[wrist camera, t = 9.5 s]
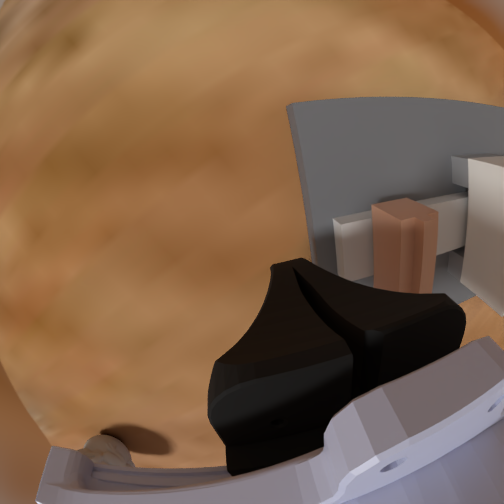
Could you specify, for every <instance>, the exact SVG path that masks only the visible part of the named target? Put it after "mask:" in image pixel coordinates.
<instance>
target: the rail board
mask: <svg viewBox="0 0 504 504" xmlns="http://www.w3.org/2000/svg"><path fill="white" fill-rule="evenodd" d="M286 108H287V113H288V118H289V123H290V128H291V133H292V138H293V143H294V148H295V154H296V159H297V165H298V170H299V176H300V182H301V188H302V194H303V201H304V207H305V214H306V220H307V227H308V235H309V242H310V250H311V257H312V263H313V264H315V265H317V266H319V267H321V268H323V269H325V270H327V271H329V272H331V273H333V274H335V275H337V276H340V277H342V278H345V279H347V280H350V281H353V282H356V283H359V284H362V285H366V286H369V287H373V285H374V256H373V225H372V208H371V205H372V204H377V203H382V202H387V201H392V200H397V199H402V198H409V199H411V200H413V201H416V202H418V203H420V204H423V205H425V206H427V207H429V208H432V209H434V210H436V211H438V212H439V213H438V238H437V252H436V263H435V272H434V280H433V288H432V293H445V294H446V295H448V296H449V297H450V298H451V299H452V300H453V301H454V302H456V303H457V304H459V303H461V302H464V301H466V300H468V299H470V298H472V297H474V296H476V294H474V293H473V292H472V291H471V290H469V289H468V288H467V287H466V286H464V285H463V284H462V283H461V282H460V281H459V280H458V279H456V278H455V277H454V276H453V275H451V274H450V273H449V272H447V270H448V262H449V253H450V251H451V250H454V249H457V248H460V247H463V246H465V243H466V232H467V219H468V189H469V188H466V187H463V186H460V185H457V184H454V183H452V159H451V156H454V155H468V154H485V153H489V154H494V155H498V156H504V108H503V107H497V106H492V105H486V104H480V103H473V102H465V101H456V100H446V99H434V98H417V97H359V98H340V99H327V100H316V101H307V102H298V103H292V104H290V105H288V106H286Z"/></svg>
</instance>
